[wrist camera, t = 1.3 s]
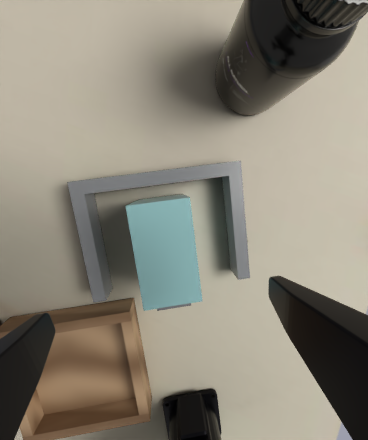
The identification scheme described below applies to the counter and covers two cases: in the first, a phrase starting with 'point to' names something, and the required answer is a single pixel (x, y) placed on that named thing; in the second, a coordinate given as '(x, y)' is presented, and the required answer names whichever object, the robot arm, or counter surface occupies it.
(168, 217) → the tall aqua prism
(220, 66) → the supplement bottle
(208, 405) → the robot arm
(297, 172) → the counter surface
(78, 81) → the counter surface
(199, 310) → the counter surface
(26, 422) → the tray
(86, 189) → the bay
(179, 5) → the counter surface
